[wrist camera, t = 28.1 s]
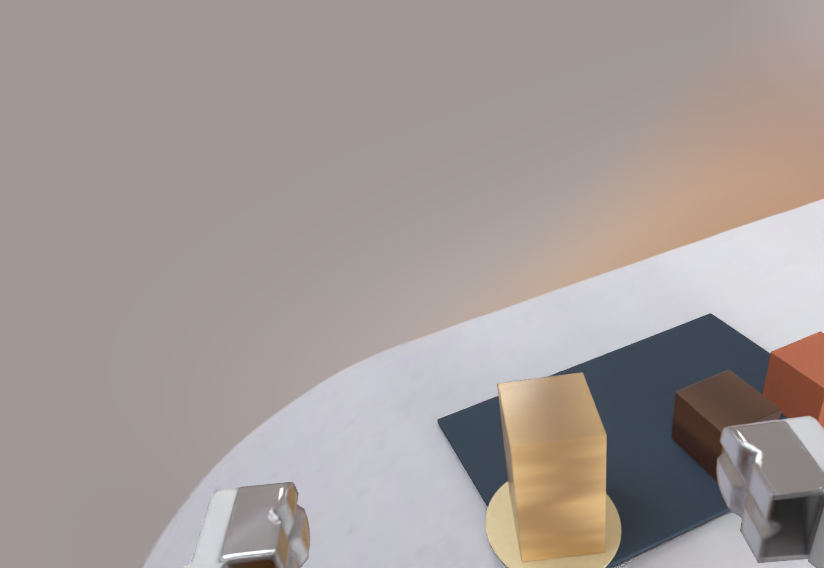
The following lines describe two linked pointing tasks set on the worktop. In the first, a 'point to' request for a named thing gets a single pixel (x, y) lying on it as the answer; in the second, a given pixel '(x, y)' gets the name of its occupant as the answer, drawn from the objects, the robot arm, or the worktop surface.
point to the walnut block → (716, 415)
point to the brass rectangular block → (554, 466)
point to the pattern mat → (623, 442)
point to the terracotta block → (798, 378)
